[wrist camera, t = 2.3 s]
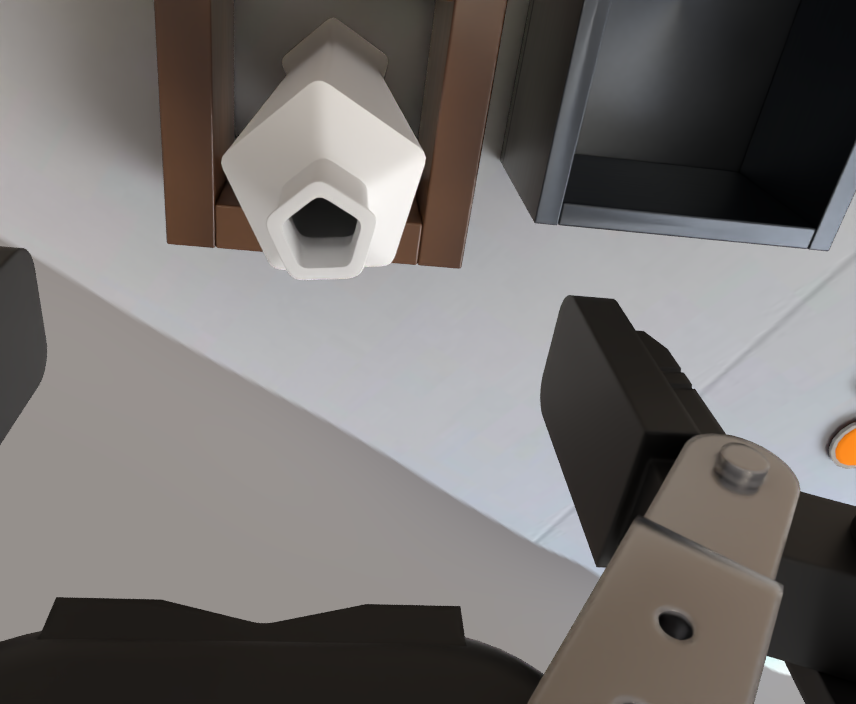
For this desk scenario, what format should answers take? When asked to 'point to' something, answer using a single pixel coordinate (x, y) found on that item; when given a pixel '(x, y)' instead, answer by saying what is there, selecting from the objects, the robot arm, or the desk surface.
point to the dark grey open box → (687, 118)
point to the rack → (214, 126)
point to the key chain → (844, 447)
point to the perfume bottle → (327, 161)
